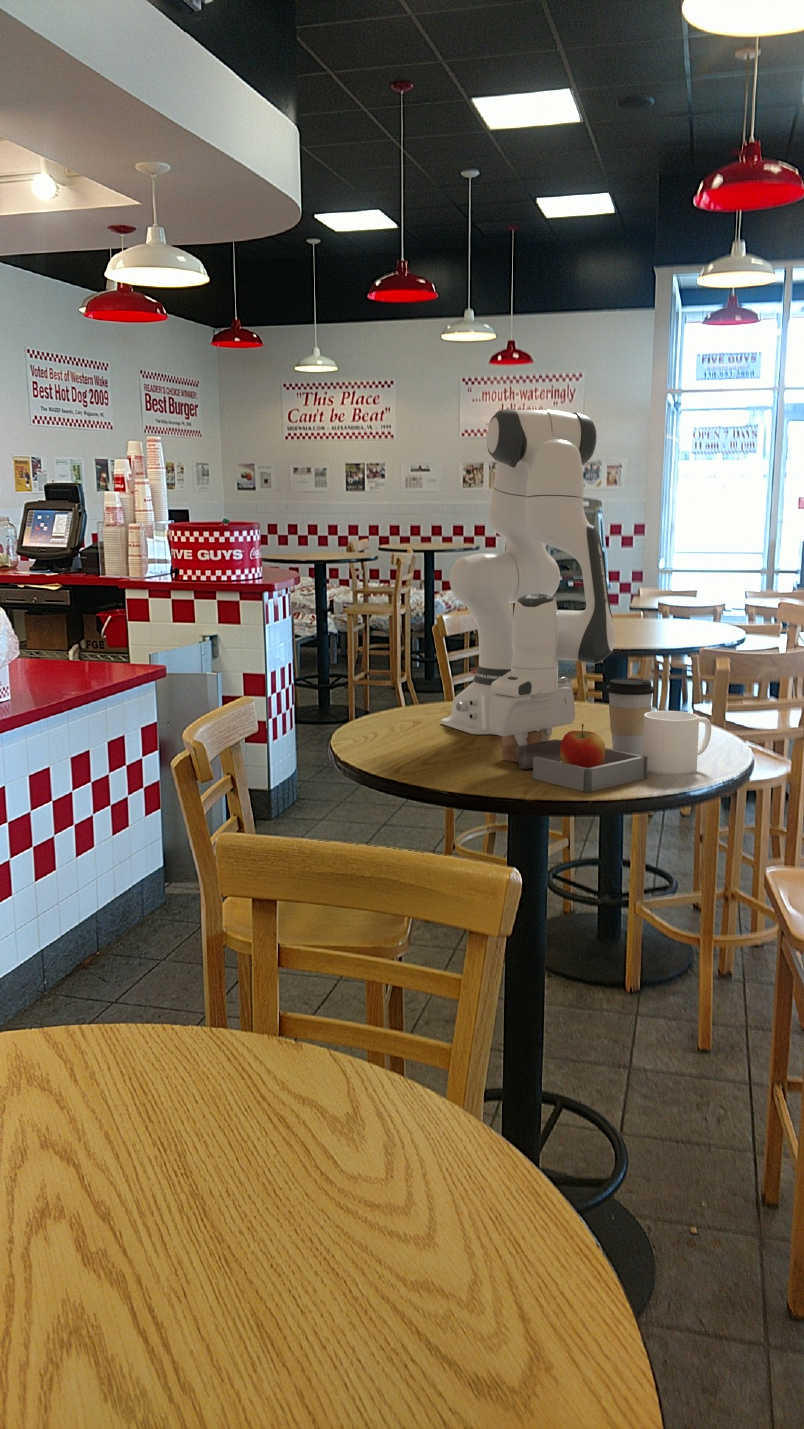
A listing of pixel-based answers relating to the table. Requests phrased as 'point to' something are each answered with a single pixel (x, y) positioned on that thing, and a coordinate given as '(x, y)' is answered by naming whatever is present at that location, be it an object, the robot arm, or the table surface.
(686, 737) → the mug
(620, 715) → the coffee cup
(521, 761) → the tan grey t-shaped block
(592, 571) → the robot arm
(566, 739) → the apple
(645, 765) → the tray
